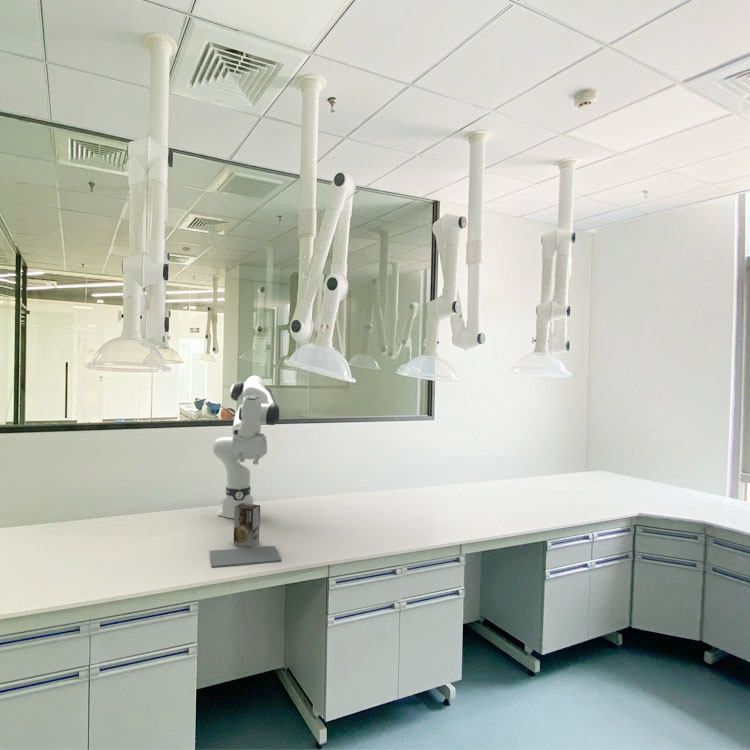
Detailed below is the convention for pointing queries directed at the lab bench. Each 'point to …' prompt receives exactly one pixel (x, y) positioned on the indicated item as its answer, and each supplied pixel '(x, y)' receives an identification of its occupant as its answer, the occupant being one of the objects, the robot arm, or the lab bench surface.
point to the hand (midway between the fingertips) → (248, 463)
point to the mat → (244, 556)
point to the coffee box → (246, 524)
